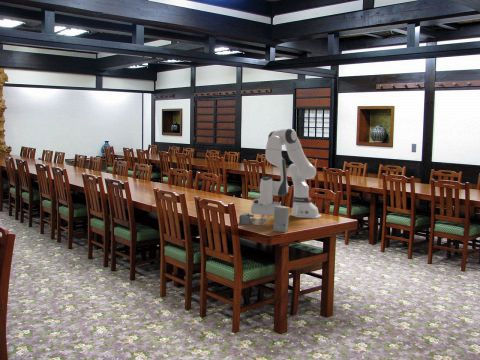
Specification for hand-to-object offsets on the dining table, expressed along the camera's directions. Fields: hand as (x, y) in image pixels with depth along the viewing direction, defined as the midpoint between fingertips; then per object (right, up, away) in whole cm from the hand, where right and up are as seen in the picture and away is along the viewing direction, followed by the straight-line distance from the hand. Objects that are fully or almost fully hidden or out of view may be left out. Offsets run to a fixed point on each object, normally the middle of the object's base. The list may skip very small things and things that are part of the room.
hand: (265, 221), depth 341 cm
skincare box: (+9, -5, -18) cm, 21 cm away
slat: (-8, -2, +3) cm, 9 cm away
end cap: (-13, -2, +5) cm, 14 cm away
